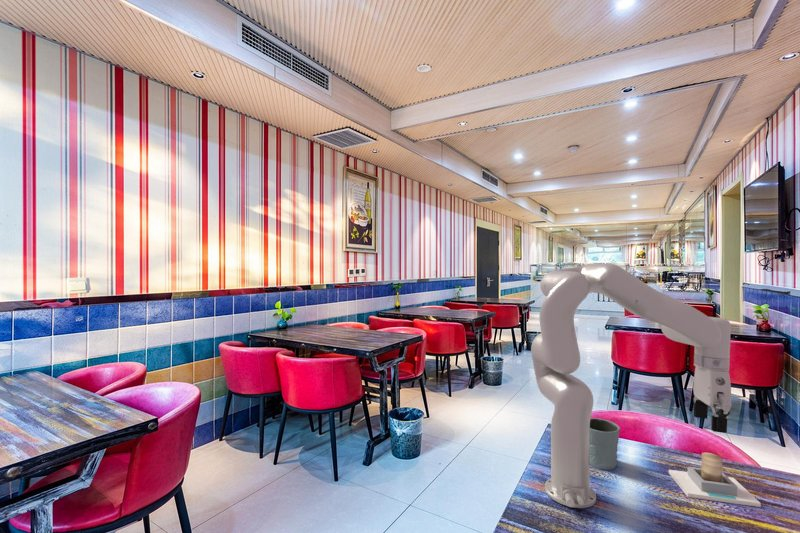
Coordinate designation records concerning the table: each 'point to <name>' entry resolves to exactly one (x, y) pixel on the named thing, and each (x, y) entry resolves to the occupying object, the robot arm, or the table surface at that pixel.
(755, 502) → the white square-hole tray
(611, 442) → the grey cylindrical pot
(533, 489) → the table surface
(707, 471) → the barrel peg
